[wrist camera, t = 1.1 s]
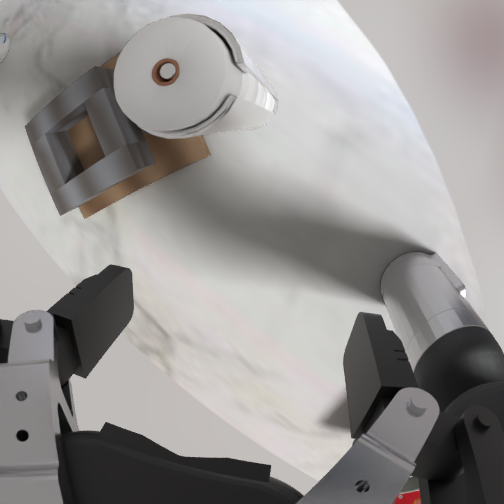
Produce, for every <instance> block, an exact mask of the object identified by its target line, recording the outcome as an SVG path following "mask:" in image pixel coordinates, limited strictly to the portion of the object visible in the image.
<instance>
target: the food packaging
mask: <svg viewBox="0 0 504 504" xmlns="http://www.w3.org/2000/svg"><path fill="white" fill-rule="evenodd" d="M392 504H421V499H420V491H414V492H409V493H404V494H399V495H398V496H397V498H396V499H395V501H394V502H393V503H392Z"/></svg>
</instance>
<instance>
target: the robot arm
mask: <svg viewBox="0 0 504 504" xmlns="http://www.w3.org/2000/svg"><path fill="white" fill-rule="evenodd" d="M380 288H381V294H382V297H383V300H384V303H385V305H386V308H387V310H388V313H389V315H390V318H391V320H392V323H393V326H394V328H395V331H396V334H397V335H396V334H395V333H394V332H393V331H390V330H387V329H386V326H385V323H384V321H383V318H382V316H381V315H378V314H371V313H365V312H360V313H359V314H358V316H357V318H356V321H355V324H354V326H353V329H352V332H351V335H350V338H349V340H348V343H347V346H346V349H345V353H344V359H343V366H344V374H345V382H346V390H347V399H348V408H349V418H350V428H351V438H356V439H358V440H357V441H356V443H355V444H354V445H353V446H352V447H351V448H350V449H349V450H348V452H347V453H346V454H345V455H344V456H343V457H342V458H341V459H340V460H339V461H338V463H337V464H336V465H335V466H334V467H333V468H332V469H331V470H330V471H329V472H328V473H327V474H326V475H325V476H324V477H323V478H322V479H321V480H320V481H319V482H318V483H317V484H316V485H315V486H314V487H313V488H312V489H311V490H310V491H309V492H308V493H307V494H306V495H305V496H303V495H302V494H301V493H300V492H298V491H297V490H296V489H294V488H293V487H291V486H290V485H288V484H286V483H284V482H282V481H280V480H278V479H275V478H273V477H270V469H271V465H266V464H259V463H253V462H247V461H241V460H236V459H231V458H201V457H182V456H179V455H177V454H175V453H173V452H171V451H169V450H168V449H166V448H164V447H162V446H160V445H159V444H157V443H155V442H153V441H152V440H150V439H148V438H146V437H145V436H143V435H141V434H137V433H135V432H132V431H129V430H126V429H123V428H121V427H118V426H115V425H113V424H110V423H107V422H106V423H105V424H104V426H103V428H102V429H101V431H100V432H99V431H79V429H78V425H77V419H76V414H75V407H74V401H73V394H72V386H71V382H70V377H71V376H72V374H76V375H78V376H81V377H83V378H86V377H87V376H88V374H89V373H90V372H91V371H92V369H93V368H94V367H95V366H96V364H97V363H98V362H99V360H100V359H101V358H102V356H103V355H104V354H105V352H106V351H107V350H108V349H109V347H110V346H111V345H112V343H113V342H114V341H115V340H116V338H117V337H118V336H119V335H120V333H121V332H122V331H123V329H124V328H125V327H126V326H127V324H128V323H129V322H130V320H131V318H132V315H133V310H134V301H133V283H132V272H131V270H130V269H129V268H125V267H121V266H116V265H109V266H108V267H106V268H105V269H104V270H103V271H101V272H100V273H99V274H98V275H97V274H96V275H94V276H91V277H89V278H86V279H84V280H83V281H82V282H81V283H79V284H78V285H77V286H76V288H73V289H72V290H71V291H70V292H69V294H66V295H65V296H64V297H63V298H61V299H60V300H59V301H58V302H57V303H56V304H54V305H53V306H52V307H51V308H50V309H49V310H48V311H43V310H31V311H27V312H25V313H23V314H21V315H19V316H18V317H17V318H16V319H15V321H9V320H1V319H0V504H392V503H393V502H394V501H395V499H396V498H397V496H398V495H399V493H400V491H401V490H402V488H403V487H404V485H405V484H406V482H407V480H408V479H409V477H410V476H414V477H418V481H419V490H420V499H421V504H504V354H503V352H502V349H501V347H500V346H499V344H498V343H497V341H496V340H495V338H494V337H493V335H492V334H491V333H490V331H489V330H488V328H487V327H486V325H485V324H484V322H483V321H482V320H481V318H480V317H479V316H478V314H477V313H476V312H475V310H474V309H473V307H472V306H471V305H470V303H469V302H468V301H467V300H466V288H465V286H464V284H463V283H462V282H461V281H460V279H459V278H458V277H457V276H456V275H455V273H454V272H453V271H452V270H451V269H450V268H449V266H448V265H447V264H446V263H445V262H444V261H443V260H442V259H441V257H440V256H439V255H438V254H437V253H435V254H432V255H429V254H426V253H423V252H409V253H406V254H403V255H401V256H399V257H398V258H396V259H395V260H394V261H392V262H391V263H390V264H389V266H388V267H387V268H386V270H385V272H384V273H383V276H382V279H381V285H380Z"/></svg>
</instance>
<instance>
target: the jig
mask: <svg viewBox="0 0 504 504" xmlns="http://www.w3.org/2000/svg"><path fill="white" fill-rule="evenodd" d="M119 55H120V53H119V54H118V55H116V56H115V57H113V58H112V59H111V60H109V61H108V62H106V63H105V64H103V65H102V66H101V67H96V66H95V67H93V68H92V69H91V70H89V71H88V72H87V73H86V74H84V75H83V76H82V77H80V78H79V79H78V80H77V81H75V82H74V83H73V84H72V85H70V86H69V87H68V88H67V89H66V90H64V91H63V92H62V93H61V94H60V95H58V96H57V97H56V98H55V99H54V100H53V101H52V102H50V103H49V104H48V105H47V106H46V107H45V108H44V109H43V110H42V111H41V112H39V113H38V114H37V115H36V116H35V117H34V118H33V119H32V120H31V121H30V122H29V123H28V124H27V125H26V126H25V129H26V132H27V135H28V137H29V140H30V143H31V146H32V149H33V152H34V154H35V157H36V160H37V162H38V165H39V167H40V170H41V172H42V175H43V177H44V180H45V182H46V185H47V187H48V189H49V192H50V194H51V196H52V199H53V201H54V203H55V206H56V208H57V210H58V212H59V214H60V216H61V215H63V214H65V213H67V212H69V211H71V210H73V209H75V208H77V207H79V208H80V210H81V213H82V215H83V217H84V219H85V218H87V217H89V216H91V215H93V214H94V213H96V212H98V211H100V210H102V209H103V208H105V207H107V206H109V205H111V204H112V203H114V202H116V201H118V200H120V199H122V198H124V197H125V196H127V195H129V194H131V193H133V192H135V191H137V190H139V189H141V188H143V187H145V186H147V185H148V184H150V183H152V182H154V181H156V180H158V179H160V178H163V177H165V176H167V175H169V174H171V173H173V172H175V171H177V170H179V169H181V168H183V167H185V166H188V165H190V164H192V163H194V162H196V161H198V160H201V159H203V158H205V157H207V156H209V155H211V154H210V152H209V150H208V147H207V145H206V143H205V141H204V138H203V136H195V137H189V138H177V139H166V138H163V137H159V136H155V135H152V134H150V133H148V132H146V131H145V130H143V129H141V128H140V127H138V126H137V125H136V124H135V123H134V122H133V121H131V120H130V119H129V118H128V117H127V116H126V115H125V114H124V113H123V112H122V110H121V108H120V106H119V104H118V103H117V101H116V97H115V91H114V70H115V66H116V63H117V59H118V57H119Z"/></svg>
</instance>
